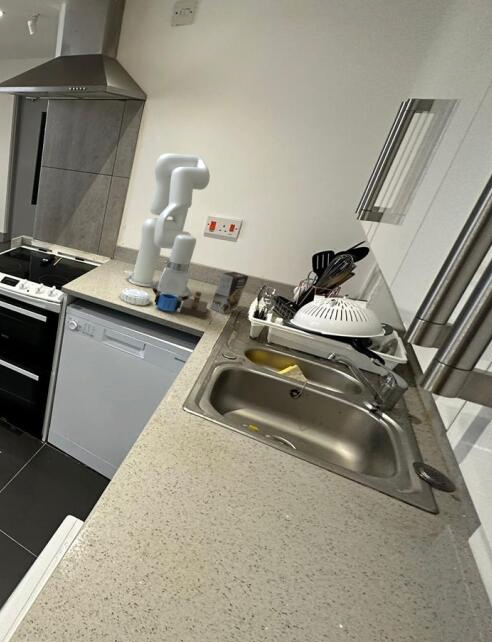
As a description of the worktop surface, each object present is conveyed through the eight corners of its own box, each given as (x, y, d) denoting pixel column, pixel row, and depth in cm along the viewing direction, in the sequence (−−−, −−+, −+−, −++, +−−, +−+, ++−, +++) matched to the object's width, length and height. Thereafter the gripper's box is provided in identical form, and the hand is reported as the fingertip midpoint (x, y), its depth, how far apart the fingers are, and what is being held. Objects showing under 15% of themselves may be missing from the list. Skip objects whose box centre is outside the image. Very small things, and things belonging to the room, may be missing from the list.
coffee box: (223, 314, 164) (236, 278, 157) (209, 307, 169) (221, 272, 163) (236, 311, 168) (249, 275, 162) (222, 305, 173) (234, 270, 167)
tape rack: (179, 312, 161) (184, 296, 158) (182, 303, 172) (187, 287, 169) (203, 319, 157) (209, 302, 154) (205, 308, 168) (211, 292, 165)
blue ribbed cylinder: (155, 307, 162) (158, 296, 160) (158, 302, 167) (161, 291, 165) (174, 312, 158) (177, 301, 156) (176, 307, 164) (179, 296, 162)
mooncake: (150, 299, 173) (152, 291, 172) (147, 307, 163) (149, 300, 162) (122, 292, 178) (124, 285, 177) (118, 300, 168) (119, 293, 167)
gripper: (153, 263, 157) (143, 304, 164) (201, 273, 149) (188, 315, 156) (156, 259, 163) (146, 298, 170) (202, 269, 155) (189, 309, 162)
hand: (166, 306), depth 163 cm, fingers closed on blue ribbed cylinder, 7 cm apart
